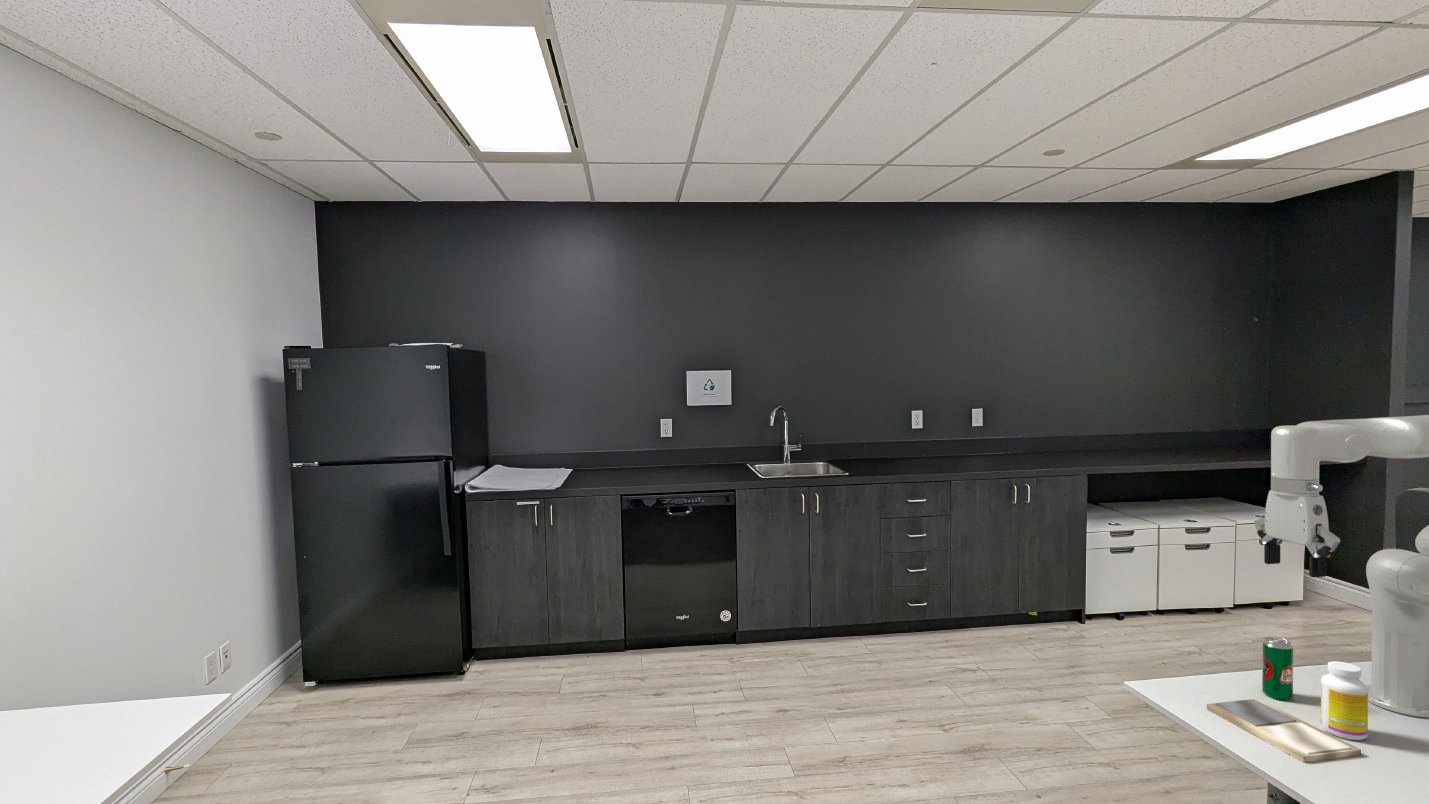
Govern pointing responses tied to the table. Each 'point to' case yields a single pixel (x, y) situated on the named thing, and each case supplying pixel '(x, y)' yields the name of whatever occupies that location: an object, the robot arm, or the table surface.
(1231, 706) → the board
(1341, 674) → the supplement bottle
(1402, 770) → the table surface
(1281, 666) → the soda can
